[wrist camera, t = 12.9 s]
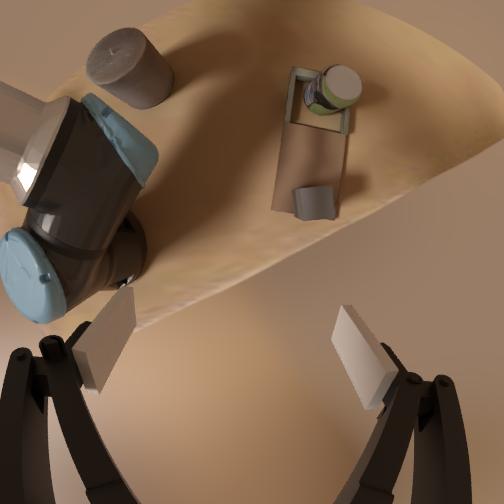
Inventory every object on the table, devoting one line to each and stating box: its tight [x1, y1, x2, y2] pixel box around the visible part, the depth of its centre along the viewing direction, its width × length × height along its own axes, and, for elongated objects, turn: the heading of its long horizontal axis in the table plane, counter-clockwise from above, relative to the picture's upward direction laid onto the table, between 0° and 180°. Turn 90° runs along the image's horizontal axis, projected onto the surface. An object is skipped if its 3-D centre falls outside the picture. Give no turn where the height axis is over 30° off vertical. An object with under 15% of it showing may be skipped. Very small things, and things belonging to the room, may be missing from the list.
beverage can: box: [303, 65, 362, 115], centre depth 32 cm, size 6×7×12 cm
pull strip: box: [271, 67, 350, 221], centre depth 35 cm, size 10×24×10 cm, turn 172°
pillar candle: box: [86, 28, 174, 109], centre depth 31 cm, size 10×10×15 cm
